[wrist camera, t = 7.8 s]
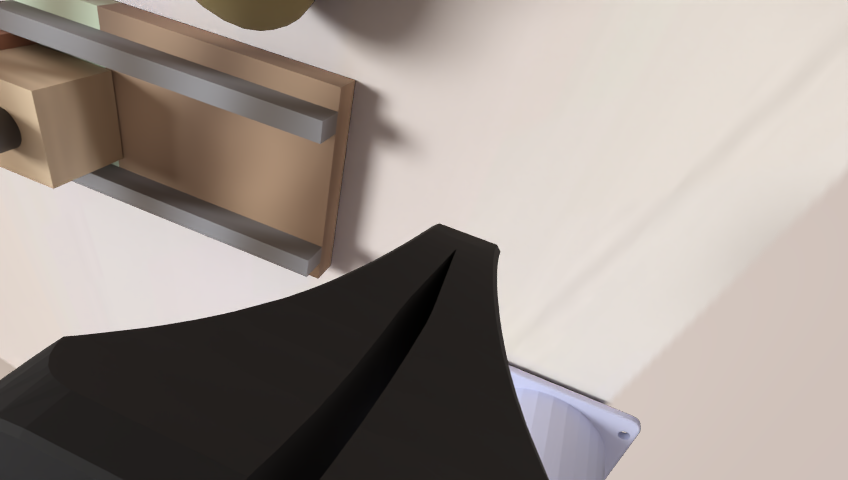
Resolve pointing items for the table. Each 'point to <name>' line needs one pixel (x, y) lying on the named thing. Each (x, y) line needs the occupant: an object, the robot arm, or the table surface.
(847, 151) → the table surface
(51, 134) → the slider
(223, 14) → the brown rounded lump
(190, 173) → the track
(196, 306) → the table surface
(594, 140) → the table surface
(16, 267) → the table surface
